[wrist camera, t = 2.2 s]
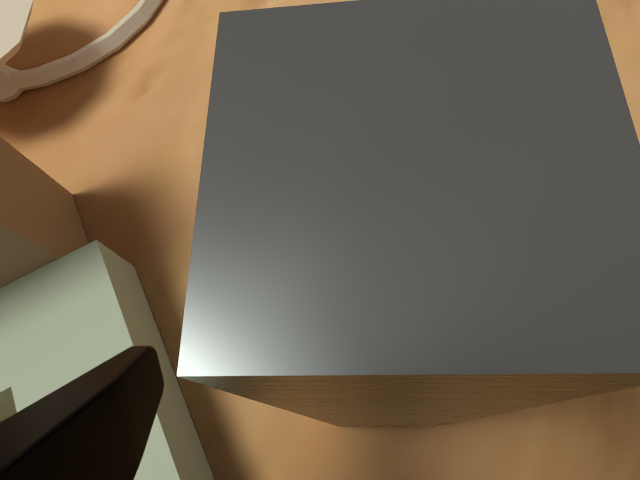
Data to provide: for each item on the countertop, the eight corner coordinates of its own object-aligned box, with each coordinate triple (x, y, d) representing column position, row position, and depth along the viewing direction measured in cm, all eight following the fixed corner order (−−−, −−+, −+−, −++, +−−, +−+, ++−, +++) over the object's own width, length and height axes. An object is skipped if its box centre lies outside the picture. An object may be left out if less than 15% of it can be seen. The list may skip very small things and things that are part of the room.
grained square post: (433, 426, 17) (708, 372, 3) (337, 425, 17) (176, 376, 3) (425, 330, 18) (589, -20, 4) (336, 331, 18) (220, 12, 5)
